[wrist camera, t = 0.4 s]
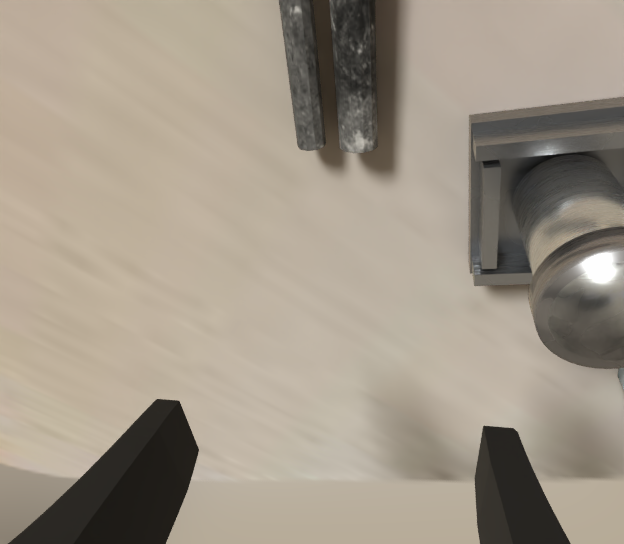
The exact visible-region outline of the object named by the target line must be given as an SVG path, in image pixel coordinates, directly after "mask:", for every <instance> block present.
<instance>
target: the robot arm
mask: <svg viewBox="0 0 624 544" xmlns="http://www.w3.org/2000/svg"><path fill="white" fill-rule="evenodd" d="M198 452H199V449H198V446H197V444H196V441H195V439H194V436H193V434H192V431H191V429H190V426H189V424H188V421H187V419H186V416H185V414H184V411H183V409H182V407H181V404H180V402H179V401H175V400H163V399H157V400H155V401H154V402H153V403H152V404H151V406H150V407H149V408H148V409H147V410H146V411H145V412H144V413H143V414H142V415H141V416H140V417H139V418H138V419H137V420H136V421H135V422H134V423H133V424H132V425H131V427H130V428H129V429H128V430H127V431H126V432H125V433H124V434H123V435H122V436H121V437H120V438H119V439H118V440H117V441H116V442H115V443H114V444H113V445H112V447H111V448H110V449H109V450H108V451H107V452H106V453H105V454H104V455H103V456H102V457H101V458H100V459H99V460H98V461H97V462H96V463H95V464H94V465H93V466H92V467H91V468H90V469H89V470H88V471H87V472H86V473H85V474H84V475H83V476H82V477H81V478H80V479H79V480H78V481H77V482H76V483H75V484H74V485H73V486H72V487H71V488H70V489H69V490H67V491H66V492H65V493H64V494H63V496H61V497H60V498H59V499H58V500H57V501H56V502H55V503H54V504H53V505H52V506H51V507H49V508H48V509H47V510H46V511H45V512H44V513H43V514H42V515H41V516H40V517H39V518H37V519H36V520H35V521H34V522H33V523H32V524H31V525H30V526H28V527H27V528H26V529H25V530H24V531H23V532H22V533H20V534H19V535H18V536H17V537H16V538H14V539H13V540H12V541H11V542H10V543H8V544H166V541H167V539H168V537H169V534H170V532H171V529H172V527H173V525H174V522H175V520H176V517H177V515H178V513H179V510H180V507H181V505H182V503H183V500H184V498H185V495H186V493H187V490H188V487H189V484H190V480H191V477H192V474H193V470H194V467H195V463H196V459H197V456H198ZM475 490H476V491H475V492H476V509H477V525H478V533H479V539H480V544H570V542H569V540H568V538H567V536H566V534H565V533H564V531H563V529H562V527H561V525H560V523H559V521H558V520H557V518H556V516H555V514H554V512H553V510H552V508H551V506H550V504H549V502H548V500H547V498H546V496H545V494H544V492H543V490H542V488H541V486H540V484H539V482H538V479H537V477H536V475H535V473H534V471H533V469H532V466H531V464H530V462H529V459H528V457H527V455H526V452H525V450H524V447H523V445H522V442H521V440H520V437H519V434H518V432H517V431H516V430H515V429H513V428H503V427H491V426H483V431H482V437H481V444H480V450H479V456H478V462H477V468H476V474H475Z"/></svg>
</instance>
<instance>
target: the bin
mask: <svg viewBox="0 0 624 544" xmlns="http://www.w3.org/2000/svg"><path fill="white" fill-rule="evenodd" d="M618 378H619V380H620V382H621V385H622V387H623V389H624V368H619V371H618Z"/></svg>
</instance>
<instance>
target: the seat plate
mask: <svg viewBox="0 0 624 544" xmlns="http://www.w3.org/2000/svg"><path fill="white" fill-rule="evenodd" d="M564 155H584V156H589V157H592V158H594V159H597V160H598V161H600V162H602V163H603V164H604V165H606V166H607V167H608V168H609V170H610V171H611V172H612V174H613V175H614V176H615V178H616V179H617V181H618V182H619V183H620V185H621V186H622V187H623V189H624V97H620V98H612V99H603V100H595V101H586V102H578V103H569V104H561V105H552V106H544V107H535V108H526V109H518V110H509V111H501V112H492V113H484V114H475V115H469V268H470V273H473V280H474V286H489V285H519V284H530V282H531V280H532V277H533V274H532V271H531V268H530V264H529V261H528V258H527V255H526V251H525V248H524V245H523V242H522V239H521V235H520V232H519V229H518V226H517V222H516V219H515V216H514V212H513V197H514V193H515V191H516V188H517V186H518V185H519V183H520V182H521V180H522V179H523V178H524V176H525V175H526V174H527V173H529V172H530V171H531V170H532V169H533V168H535V167H536V166H538V165H539V164H541V163H543V162H545V161H547V160H550V159H552V158H555V157H559V156H564Z"/></svg>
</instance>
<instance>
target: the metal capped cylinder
mask: <svg viewBox="0 0 624 544" xmlns="http://www.w3.org/2000/svg"><path fill="white" fill-rule="evenodd" d="M513 212H514V216H515V219H516V222H517V226H518V229H519V232H520V235H521V239H522V242H523V245H524V248H525V251H526V255H527V258H528V261H529V264H530V268H531V271H532V274H533V277H532V280H531V282H530V286H529V297H528V299H529V304H530V308H531V312H532V315H533V319H534V323H535V326H536V330H537V332H538V335H539V337H540V339H541V341H542V342H543V344H544V345H545V346H546V347H547V348H548V349H549V350H550V351H551V352H553V353H554V354H555V355H557V356H558V357H560V358H562V359H564V360H566V361H568V362H571V363H574V364H577V365H581V366H586V367H592V368H604V369H612V368H624V189H623V187H622V186H621V185H620V183H619V182H618V181H617V179H616V178H615V176H614V175H613V174H612V172H611V171H610V170H609V168H608V167H607V166H606V165H604V164H603V163H602V162H600V161H598V160H597V159H594V158H592V157H589V156H584V155H564V156H559V157H555V158H552V159H550V160H547V161H545V162H543V163H541V164H539V165H538V166H536V167H535V168H533V169H532V170H531V171H530V172H529V173H527V174H526V175H525V176H524V178H523V179H522V180H521V182H520V183H519V185H518V186H517V188H516V191H515V193H514V197H513Z"/></svg>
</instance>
